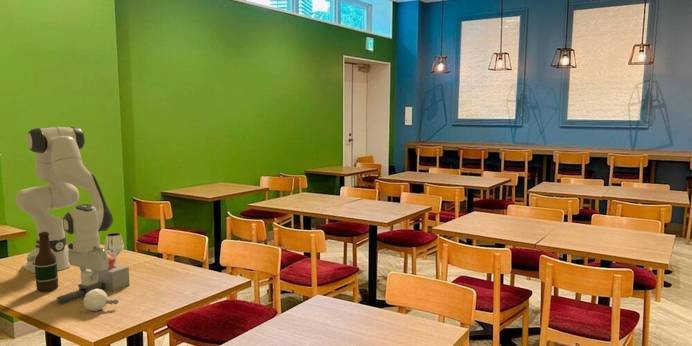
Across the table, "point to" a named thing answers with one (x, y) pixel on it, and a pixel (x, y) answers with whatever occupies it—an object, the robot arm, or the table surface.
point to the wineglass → (113, 244)
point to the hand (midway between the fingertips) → (89, 278)
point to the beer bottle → (45, 266)
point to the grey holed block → (115, 277)
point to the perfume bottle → (97, 300)
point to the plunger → (111, 262)
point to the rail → (74, 295)
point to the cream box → (89, 282)
